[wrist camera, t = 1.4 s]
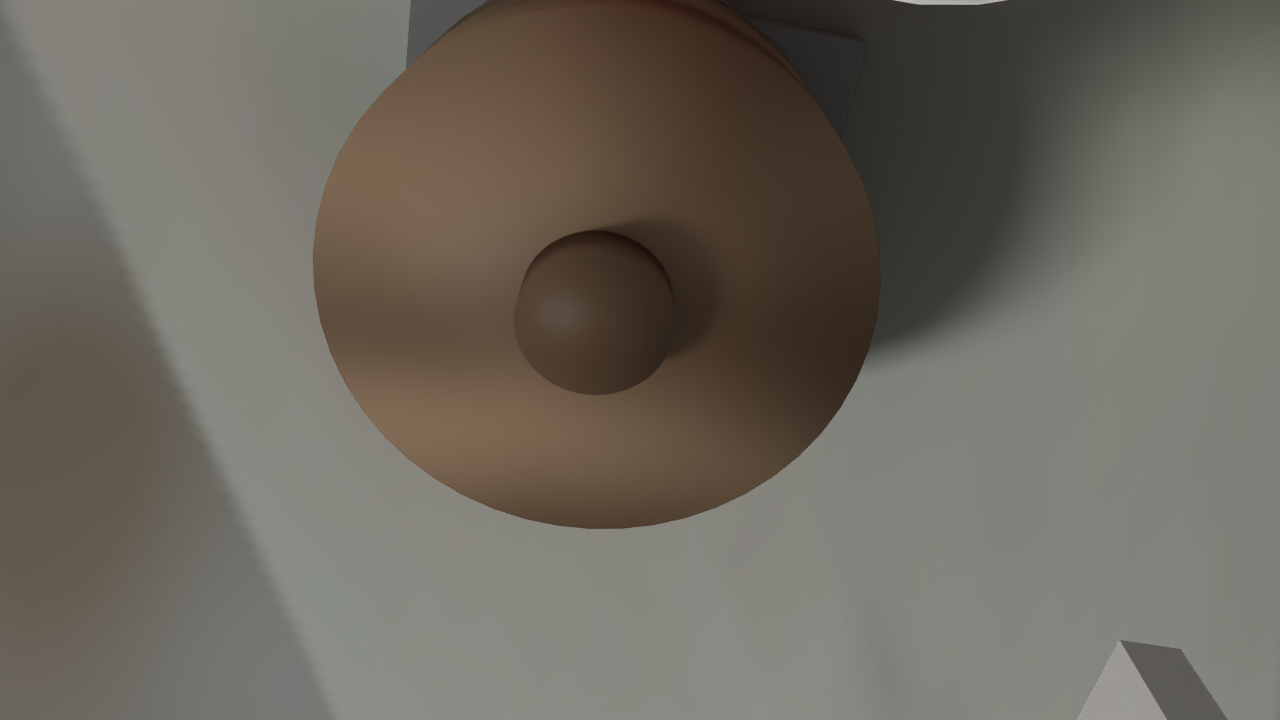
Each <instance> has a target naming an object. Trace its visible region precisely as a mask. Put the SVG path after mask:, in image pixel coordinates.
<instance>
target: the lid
mask: <svg viewBox="0 0 1280 720" xmlns="http://www.w3.org/2000/svg"><path fill="white" fill-rule="evenodd" d="M313 269H314V290H315V295H316V301H317V306H318V311H319V317H320V322H321V325H322V328H323V331H324V334H325V337H326V340H327V343H328V347H329V350H330V353H331V355H332V357H333V359H334V361H335V363H336V365H337V367H338V370H339V372H340V374H341V376H342V378H343V380H344V382H345V384H346V385H347V387H348V389H349V390H350V392H351V393H352V395H353V396H354V398H355V399H356V401H357V402H358V404H359V405H360V407H361V409H362V410H363V412H364V413H365V414H366V415H367V416H368V418H369V419H370V420H371V421H372V422H373V423H374V425H375V426H376V427H377V428H378V429H379V431H380V432H381V433H382V434H383V435H384V437H385V438H386V439H388V440H389V441H390V442H391V443H392V444H393V445H394V446H395V447H396V448H397V449H398V450H399V451H400V452H401V453H402V454H404V455H405V456H406V457H407V458H408V459H409V460H410V461H412V462H413V463H414V464H416V465H417V466H418V467H420V468H421V469H422V470H424V471H425V472H426V473H428V474H429V475H430V476H432V477H433V478H435V479H436V480H438V481H440V482H441V483H443V484H445V485H446V486H448V487H450V488H452V489H453V490H455V491H457V492H458V493H460V494H462V495H464V496H466V497H468V498H470V499H473V500H475V501H477V502H479V503H482V504H484V505H486V506H488V507H491V508H493V509H496V510H499V511H502V512H505V513H508V514H511V515H514V516H518V517H521V518H524V519H528V520H533V521H538V522H542V523H547V524H552V525H557V526H567V527H577V528H587V529H622V528H631V527H640V526H649V525H656V524H660V523H665V522H670V521H674V520H679V519H683V518H687V517H690V516H693V515H696V514H699V513H702V512H705V511H708V510H710V509H713V508H716V507H718V506H720V505H723V504H725V503H727V502H729V501H731V500H733V499H735V498H738V497H740V496H742V495H744V494H746V493H747V492H749V491H751V490H752V489H754V488H756V487H757V486H759V485H760V484H762V483H764V482H765V481H767V480H769V479H770V478H772V477H773V476H774V475H776V474H777V473H778V472H780V471H781V470H782V469H783V468H785V467H786V466H787V465H788V464H790V463H791V462H792V461H793V460H795V459H796V458H797V457H798V456H799V455H800V454H801V453H802V452H803V451H804V450H805V449H806V448H807V447H808V446H809V445H810V444H811V443H812V442H813V441H814V440H815V439H816V438H817V437H818V436H819V435H820V434H821V433H822V431H823V430H824V429H825V427H826V426H827V425H828V423H829V422H830V421H831V420H832V418H833V417H834V416H835V414H836V413H837V412H838V410H839V409H840V408H841V406H842V404H843V402H844V401H845V399H846V397H847V395H848V394H849V392H850V390H851V388H852V387H853V385H854V383H855V382H856V380H857V377H858V375H859V372H860V370H861V367H862V365H863V362H864V360H865V358H866V355H867V353H868V350H869V347H870V343H871V339H872V335H873V331H874V327H875V323H876V319H877V312H878V303H879V294H880V285H881V280H880V250H879V244H878V238H877V233H876V227H875V222H874V216H873V212H872V209H871V206H870V203H869V200H868V198H867V195H866V192H865V189H864V186H863V183H862V180H861V178H860V176H859V174H858V172H857V170H856V168H855V166H854V164H853V162H852V160H851V158H850V156H849V154H848V152H847V150H846V148H845V146H844V145H843V143H842V141H841V140H840V138H839V137H838V135H837V133H836V132H835V130H834V129H833V127H832V125H831V124H830V122H829V120H828V119H827V117H826V116H825V114H824V112H823V111H822V109H821V108H820V106H819V104H818V103H817V101H816V99H815V98H814V96H813V95H812V93H811V91H810V90H809V88H808V87H807V85H806V83H805V82H804V81H803V79H802V78H801V76H800V75H799V73H798V72H797V71H796V69H795V68H794V66H793V65H792V63H791V62H790V61H789V59H788V58H787V57H786V56H785V55H784V54H783V53H782V52H781V51H780V49H779V48H778V47H777V46H776V45H775V44H774V43H773V42H772V41H771V40H770V39H769V38H768V37H767V36H766V35H765V34H764V33H763V32H762V31H760V30H759V29H758V28H757V27H755V26H754V25H753V24H752V23H750V22H749V21H748V20H747V19H746V18H744V17H743V16H742V15H741V14H739V13H737V12H736V11H734V10H732V9H731V8H729V7H727V6H726V5H724V4H722V3H721V2H719V1H717V0H488V1H487V2H485V3H484V4H482V5H481V6H479V7H478V8H476V9H475V10H473V11H472V12H470V13H469V14H467V15H465V16H464V17H462V18H461V19H460V20H459V21H458V22H456V23H455V24H454V25H453V26H452V27H451V28H450V29H449V30H447V31H446V32H445V33H444V34H443V35H442V36H441V37H439V38H438V39H437V40H436V41H435V42H434V43H433V44H432V45H431V46H430V47H429V48H428V49H427V50H426V51H425V52H424V53H423V54H422V55H421V56H420V57H419V58H417V59H416V60H415V61H414V62H413V63H412V64H411V65H410V66H409V67H408V68H407V69H406V70H405V71H404V72H403V73H402V74H401V75H400V76H399V77H398V78H397V79H396V80H395V81H394V82H393V83H392V84H390V85H389V86H388V87H387V88H386V89H385V90H384V91H383V92H382V94H381V95H380V96H379V97H378V98H377V100H376V101H375V102H374V103H373V104H372V105H371V107H370V108H369V109H368V110H367V111H366V113H365V114H364V115H363V116H362V117H361V118H360V120H359V121H358V123H357V124H356V126H355V128H354V129H353V131H352V132H351V134H350V136H349V137H348V139H347V141H346V142H345V144H344V145H343V147H342V149H341V150H340V152H339V154H338V157H337V159H336V161H335V164H334V166H333V169H332V171H331V173H330V176H329V178H328V180H327V183H326V185H325V189H324V193H323V197H322V200H321V204H320V208H319V212H318V216H317V220H316V230H315V239H314V249H313Z"/></svg>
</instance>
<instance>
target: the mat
mask: <svg viewBox="0 0 1280 720" xmlns="http://www.w3.org/2000/svg"><path fill="white" fill-rule="evenodd" d="M487 1H488V0H411V7H410V21H409V34H408V48H407V62H406V69H407V68H408V67H409V66H410V65H411V64H412V63H413V62H414V61H415V60H416V59H417V58H419V57H420V56H421V55H422V54H423V53H424V52H425V51H426V50H427V49H428V48H429V47H430V46H431V45H432V44H433V43H434V42H435V41H436V40H437V39H438V38H439V37H441V36H442V35H443V34H444V33H445V32H446V31H447V30H449V29H450V28H451V27H452V26H453V25H454V24H455V23H456V22H458V21H459V20H460V19H461V18H462V17H464V16H465V15H467V14H469V13H470V12H472V11H473V10H475V9H476V8H478V7H479V6H481V5H482V4H484V3H485V2H487ZM742 16H743V17H744V18H746V19H747V20H748V21H749V22H750V23H752V24H753V25H754V26H755V27H757V28H758V29H759V30H760V31H762V32H763V33H764V34H765V35H766V36H767V37H768V38H769V39H770V40H771V41H772V42H773V43H774V44H775V45H776V46H777V47H778V48H779V49H780V51H781V52H782V53H783V54H784V55H785V56H786V57H787V58H788V59H789V61H790V62H791V63H792V65H793V66H794V68H795V69H796V71H797V72H798V73H799V75H800V76H801V78H802V79H803V81H804V82H805V83H806V85H807V87H808V88H809V90H810V91H811V93H812V95H813V96H814V98H815V99H816V101H817V103H818V104H819V106H820V108H821V109H822V111H823V112H824V114H825V116H826V117H827V119H828V120H829V122H830V124H831V125H832V127H833V129H834V130H835V132H836V133H837V135H838V137H839V138H840V140H841V139H842V135H843V132H844V128H845V125H846V121H847V118H848V114H849V111H850V107H851V104H852V100H853V96H854V93H855V89H856V86H857V82H858V79H859V75H860V72H861V68H862V65H863V61H864V58H865V54H866V51H867V47H868V43H867V42H866V41H865V40H864V39H861V38H856V37H851V36H846V35H840V34H835V33H830V32H825V31H820V30H815V29H810V28H805V27H800V26H795V25H790V24H785V23H780V22H775V21H769V20H764V19H759V18H754V17H749V16H744V15H742Z"/></svg>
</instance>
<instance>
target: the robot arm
mask: <svg viewBox="0 0 1280 720" xmlns="http://www.w3.org/2000/svg"><path fill="white" fill-rule="evenodd" d="M1077 720H1227V718H1226V717H1225V715H1224V714H1223V712H1222V711H1221V709H1220V708H1219V706H1218V705H1217V703H1216V702H1215V700H1214V699H1213V697H1212V696H1211V694H1210V693H1209V691H1208V690H1207V688H1206V687H1205V685H1204V684H1203V682H1202V681H1201V679H1200V678H1199V676H1198V675H1197V673H1196V672H1195V670H1194V669H1193V667H1192V666H1191V664H1190V663H1189V661H1188V660H1187V658H1186V657H1185V655H1184V654H1183V652H1182V651H1181V649H1176V648H1169V647H1163V646H1156V645H1149V644H1143V643H1136V642H1129V641H1123V640H1119V642H1118V644H1117V645H1116V647H1115V649H1114V651H1113V653H1112V655H1111V657H1110V659H1109V660H1108V662H1107V664H1106V666H1105V668H1104V670H1103V672H1102V673H1101V675H1100V677H1099V679H1098V681H1097V683H1096V685H1095V686H1094V688H1093V690H1092V692H1091V694H1090V696H1089V698H1088V699H1087V701H1086V703H1085V705H1084V707H1083V709H1082V711H1081V713H1080V714H1079V716H1078V718H1077Z"/></svg>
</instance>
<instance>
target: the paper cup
mask: <svg viewBox="0 0 1280 720" xmlns="http://www.w3.org/2000/svg"><path fill="white" fill-rule="evenodd" d="M895 1H901V2H907V3H912V4H918V5H980V4H987V3H993V2H999V1H1006V0H895Z"/></svg>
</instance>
